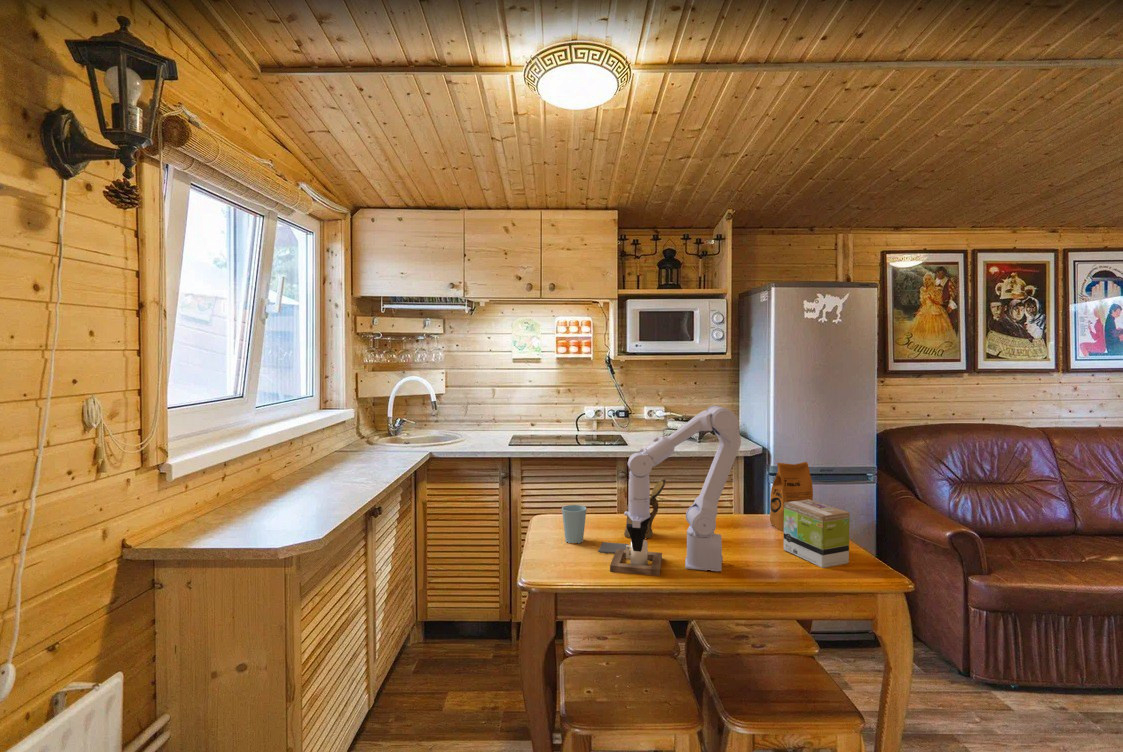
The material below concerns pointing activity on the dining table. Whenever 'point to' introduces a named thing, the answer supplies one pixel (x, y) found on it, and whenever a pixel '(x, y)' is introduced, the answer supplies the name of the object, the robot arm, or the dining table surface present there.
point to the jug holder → (636, 569)
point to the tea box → (816, 532)
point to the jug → (638, 554)
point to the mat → (611, 547)
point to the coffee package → (789, 489)
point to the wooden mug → (654, 503)
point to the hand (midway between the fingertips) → (638, 546)
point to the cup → (574, 522)
